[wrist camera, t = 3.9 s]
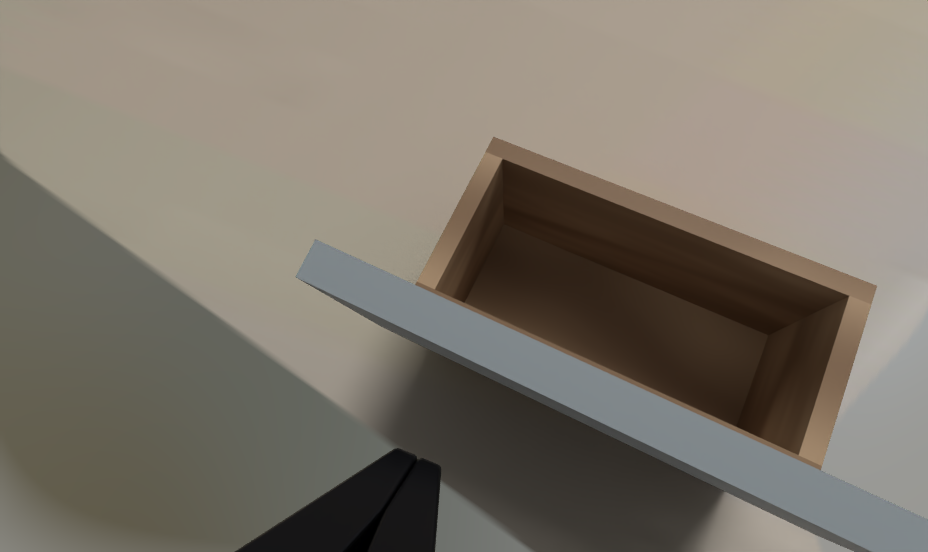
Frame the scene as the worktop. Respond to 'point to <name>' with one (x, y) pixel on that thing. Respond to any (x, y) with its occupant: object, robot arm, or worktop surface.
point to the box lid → (619, 408)
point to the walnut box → (655, 297)
